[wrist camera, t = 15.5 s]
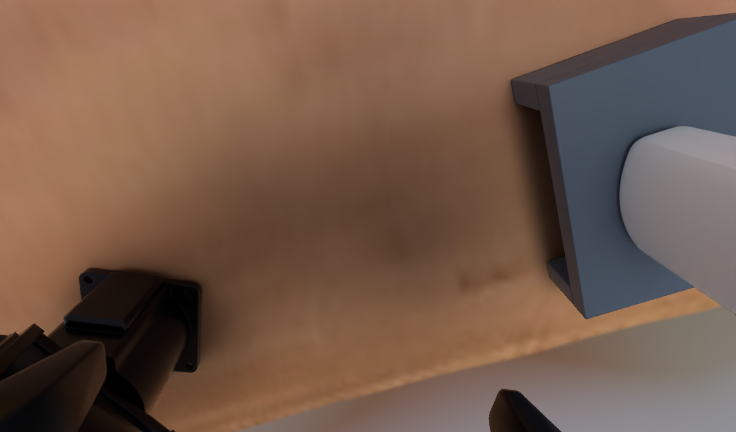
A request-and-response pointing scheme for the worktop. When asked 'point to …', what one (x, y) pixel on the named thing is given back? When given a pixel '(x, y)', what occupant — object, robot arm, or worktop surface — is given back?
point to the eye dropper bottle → (685, 206)
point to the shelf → (624, 144)
